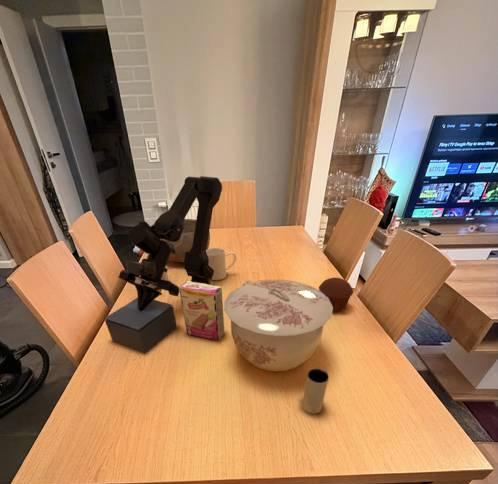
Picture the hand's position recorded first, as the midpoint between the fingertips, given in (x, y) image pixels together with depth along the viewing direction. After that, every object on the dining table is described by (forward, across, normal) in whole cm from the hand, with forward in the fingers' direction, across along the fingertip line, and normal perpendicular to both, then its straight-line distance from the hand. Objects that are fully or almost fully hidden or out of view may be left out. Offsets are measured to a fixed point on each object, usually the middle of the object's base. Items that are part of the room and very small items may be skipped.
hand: (139, 310), depth 89 cm
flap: (-2, 0, +3) cm, 4 cm away
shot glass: (-15, -18, +27) cm, 36 cm away
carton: (+6, 0, +6) cm, 8 cm away
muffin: (-24, +48, +36) cm, 65 cm away
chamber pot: (0, +40, +12) cm, 42 cm away
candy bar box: (0, +17, +12) cm, 21 cm away
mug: (-27, 0, +39) cm, 47 cm away
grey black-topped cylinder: (+10, +56, +2) cm, 57 cm away
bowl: (-33, -24, +45) cm, 61 cm away
